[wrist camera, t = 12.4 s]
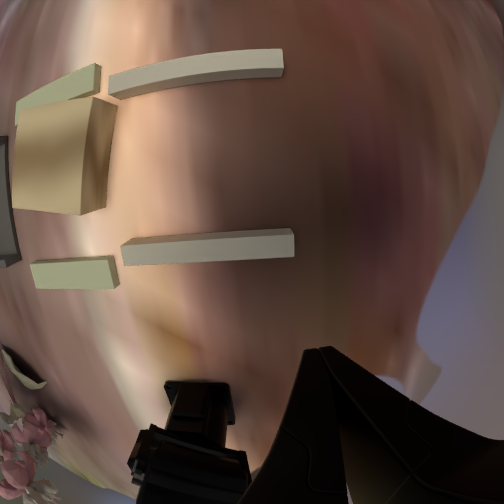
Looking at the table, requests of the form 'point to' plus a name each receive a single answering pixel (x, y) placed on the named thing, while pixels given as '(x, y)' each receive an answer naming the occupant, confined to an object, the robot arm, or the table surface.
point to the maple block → (63, 156)
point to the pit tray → (6, 213)
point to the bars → (74, 269)
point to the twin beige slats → (216, 243)
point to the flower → (25, 445)
